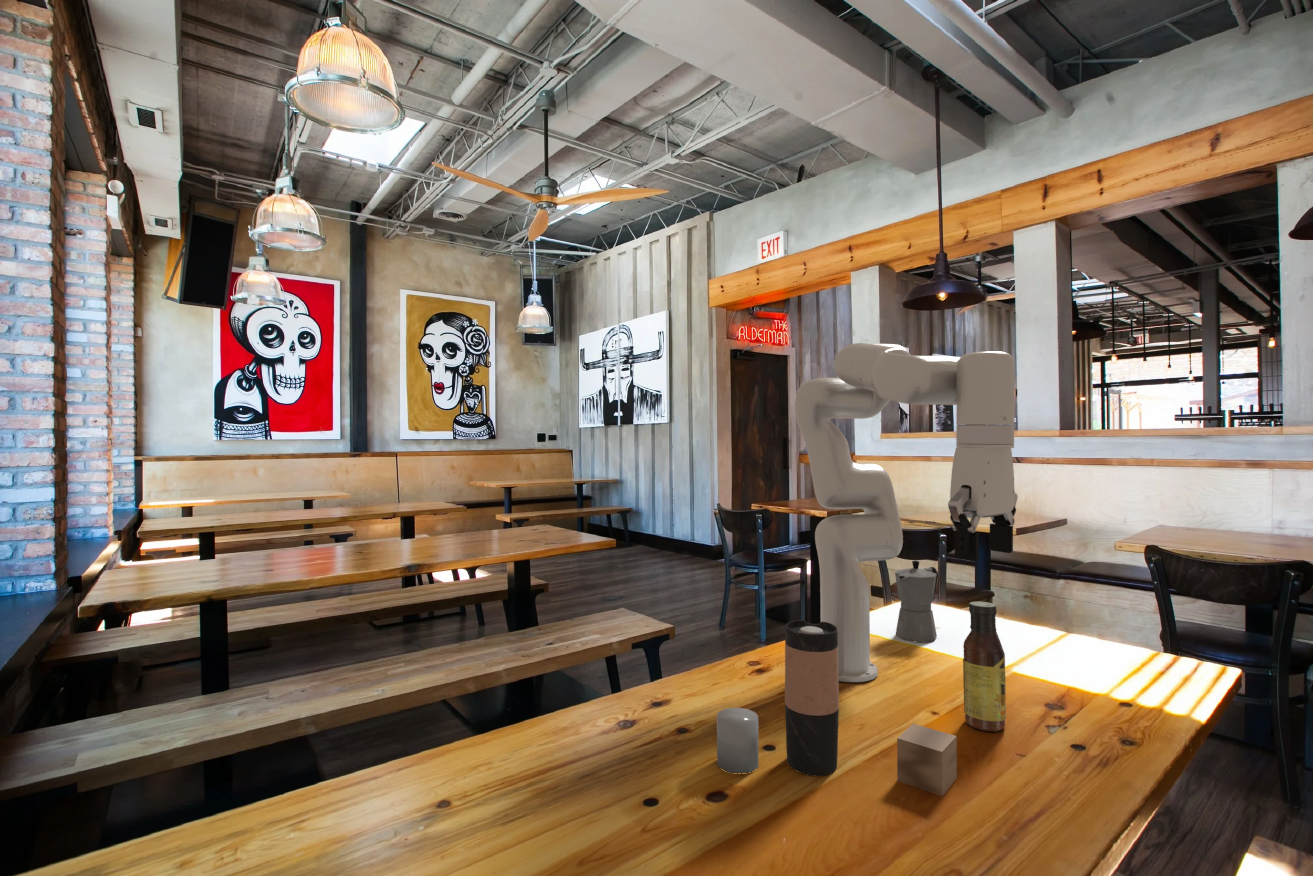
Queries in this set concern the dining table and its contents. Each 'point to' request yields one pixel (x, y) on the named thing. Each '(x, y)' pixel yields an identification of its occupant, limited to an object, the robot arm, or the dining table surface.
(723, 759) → the grey rounded cylinder
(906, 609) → the coffeepot
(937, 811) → the dining table surface
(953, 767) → the grey cube
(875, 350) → the robot arm
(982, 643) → the sauce bottle
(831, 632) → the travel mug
